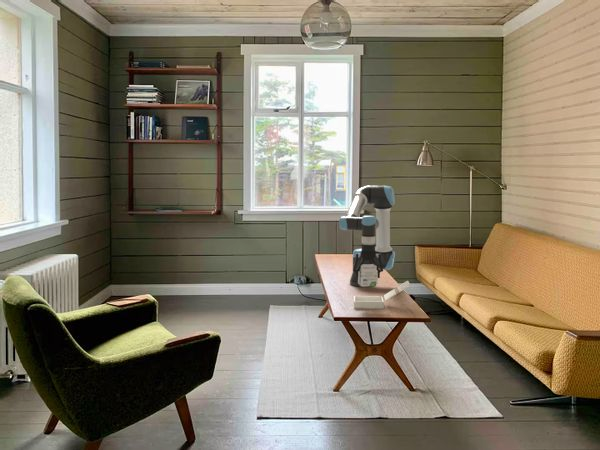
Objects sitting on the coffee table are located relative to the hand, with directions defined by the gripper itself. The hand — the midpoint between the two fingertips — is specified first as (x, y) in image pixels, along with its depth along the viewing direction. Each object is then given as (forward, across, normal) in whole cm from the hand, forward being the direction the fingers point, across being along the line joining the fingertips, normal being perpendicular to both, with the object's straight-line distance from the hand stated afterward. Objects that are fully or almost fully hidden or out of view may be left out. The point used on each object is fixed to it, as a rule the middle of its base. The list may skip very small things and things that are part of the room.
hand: (367, 283), depth 347 cm
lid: (+3, +16, 0) cm, 16 cm away
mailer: (+13, 0, 0) cm, 13 cm away
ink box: (+1, 0, 0) cm, 1 cm away
